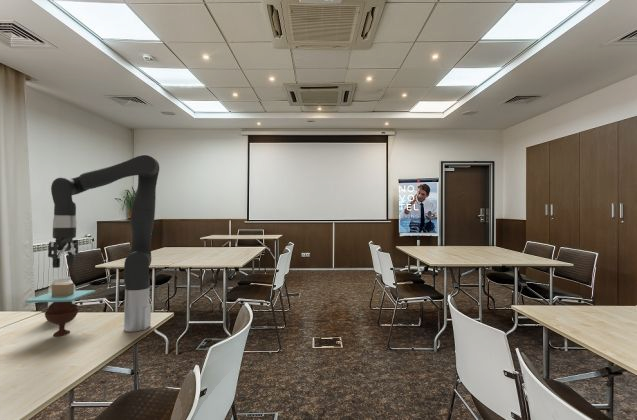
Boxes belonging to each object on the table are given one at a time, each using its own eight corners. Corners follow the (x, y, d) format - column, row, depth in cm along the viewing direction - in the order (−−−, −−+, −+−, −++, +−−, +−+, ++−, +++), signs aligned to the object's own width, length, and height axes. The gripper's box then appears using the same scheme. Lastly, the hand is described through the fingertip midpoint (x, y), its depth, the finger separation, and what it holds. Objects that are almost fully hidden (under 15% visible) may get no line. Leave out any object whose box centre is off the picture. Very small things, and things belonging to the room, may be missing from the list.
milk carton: (74, 317, 148) (75, 277, 148) (57, 322, 141) (59, 280, 142) (64, 315, 150) (65, 276, 151) (47, 320, 143) (48, 278, 144)
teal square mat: (95, 291, 137) (95, 279, 137) (71, 301, 121) (71, 287, 121) (55, 292, 135) (55, 280, 135) (25, 302, 119) (25, 288, 119)
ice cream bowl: (85, 329, 132) (86, 294, 133) (61, 339, 121) (62, 301, 122) (62, 328, 133) (63, 293, 134) (36, 338, 122) (37, 299, 123)
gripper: (62, 227, 122) (61, 268, 121) (85, 226, 136) (84, 263, 136) (41, 227, 121) (40, 269, 120) (66, 226, 135) (65, 263, 135)
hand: (63, 266), depth 128 cm, fingers open, 8 cm apart
